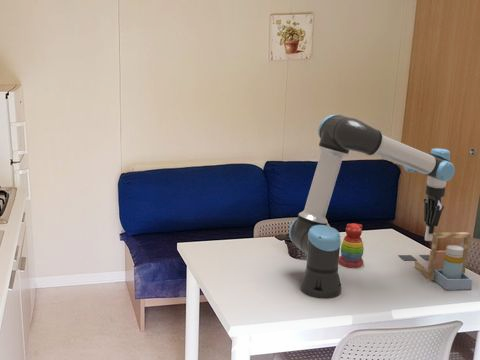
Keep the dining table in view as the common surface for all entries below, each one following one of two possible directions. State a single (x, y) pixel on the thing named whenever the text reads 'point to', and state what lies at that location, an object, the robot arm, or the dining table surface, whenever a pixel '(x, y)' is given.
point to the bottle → (453, 262)
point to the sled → (443, 281)
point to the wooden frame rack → (430, 272)
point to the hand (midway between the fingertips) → (428, 240)
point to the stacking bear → (352, 247)
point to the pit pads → (411, 258)
